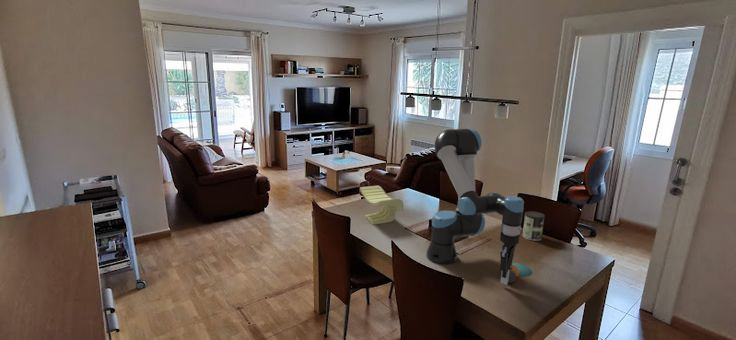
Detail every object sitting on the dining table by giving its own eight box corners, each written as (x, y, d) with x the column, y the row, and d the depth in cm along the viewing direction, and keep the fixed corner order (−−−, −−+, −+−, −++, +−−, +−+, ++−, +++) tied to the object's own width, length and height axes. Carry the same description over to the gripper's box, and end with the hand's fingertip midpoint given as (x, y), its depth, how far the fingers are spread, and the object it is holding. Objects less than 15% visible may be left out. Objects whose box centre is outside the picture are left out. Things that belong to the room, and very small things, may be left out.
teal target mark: (512, 276, 169) (512, 276, 169) (500, 263, 180) (500, 263, 180) (536, 275, 170) (536, 275, 170) (523, 262, 182) (523, 262, 182)
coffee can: (542, 236, 214) (546, 213, 210) (540, 242, 205) (543, 218, 202) (523, 232, 219) (526, 209, 215) (520, 238, 210) (523, 214, 207)
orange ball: (509, 279, 166) (510, 268, 165) (503, 273, 171) (505, 262, 170) (520, 279, 166) (522, 268, 165) (514, 273, 172) (516, 262, 171)
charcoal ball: (513, 266, 165) (513, 275, 167) (501, 268, 165) (501, 277, 167) (518, 274, 160) (518, 284, 162) (505, 276, 160) (505, 286, 162)
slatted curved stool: (402, 226, 224) (403, 198, 220) (378, 229, 218) (379, 201, 214) (381, 209, 251) (381, 184, 247) (359, 212, 245) (360, 187, 240)
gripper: (514, 240, 147) (507, 292, 153) (524, 230, 157) (517, 280, 162) (495, 235, 151) (490, 286, 157) (506, 226, 161) (500, 274, 167)
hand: (504, 283), depth 160 cm, fingers closed
